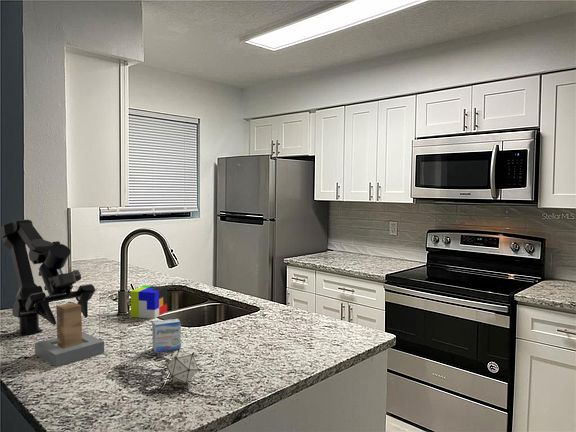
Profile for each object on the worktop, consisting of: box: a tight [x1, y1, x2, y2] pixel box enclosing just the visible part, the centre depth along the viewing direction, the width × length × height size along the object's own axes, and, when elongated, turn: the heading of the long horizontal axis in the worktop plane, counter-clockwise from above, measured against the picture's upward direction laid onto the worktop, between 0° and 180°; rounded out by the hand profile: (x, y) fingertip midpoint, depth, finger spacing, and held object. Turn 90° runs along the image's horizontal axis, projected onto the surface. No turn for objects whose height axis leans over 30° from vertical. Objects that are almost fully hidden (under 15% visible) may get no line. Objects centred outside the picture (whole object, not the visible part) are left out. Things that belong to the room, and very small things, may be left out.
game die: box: [162, 349, 203, 387], centre depth 113 cm, size 9×8×10 cm
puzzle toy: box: [130, 285, 168, 320], centre depth 173 cm, size 10×10×10 cm
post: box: [55, 302, 83, 349], centre depth 132 cm, size 5×5×12 cm
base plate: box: [34, 331, 105, 368], centre depth 132 cm, size 14×14×4 cm
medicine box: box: [151, 318, 182, 354], centre depth 137 cm, size 8×4×9 cm, turn 117°
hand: (71, 320), depth 131 cm, fingers open, 9 cm apart
